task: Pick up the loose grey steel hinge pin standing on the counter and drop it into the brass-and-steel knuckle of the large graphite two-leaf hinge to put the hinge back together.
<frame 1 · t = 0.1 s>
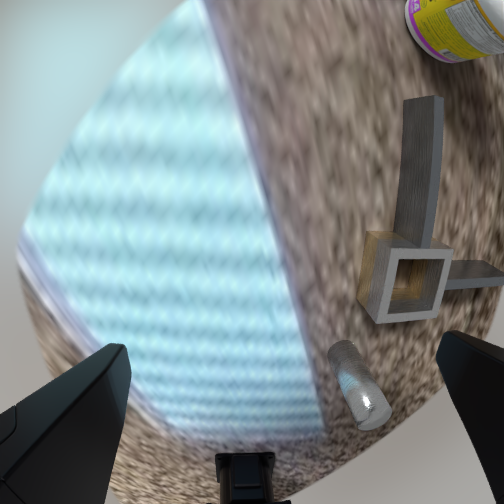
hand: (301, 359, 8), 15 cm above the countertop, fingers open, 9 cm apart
hinge: (391, 265, 23), on the countertop
hinge pin: (341, 352, 26), on the countertop
supplement bottle: (433, 28, 17), on the countertop
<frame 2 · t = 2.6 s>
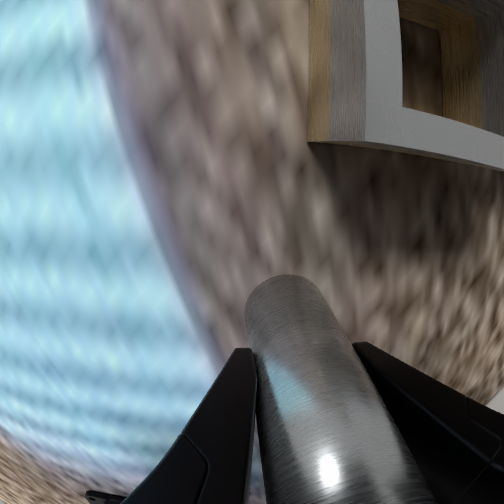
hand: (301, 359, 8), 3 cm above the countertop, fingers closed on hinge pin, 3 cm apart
hinge: (392, 68, 8), on the countertop
hinge pin: (285, 311, 10), on the countertop, touching gripper
when the fingers open (5 cm above the countertop, at t = 5.8 s): hinge pin drops 3 cm, resting in hinge.
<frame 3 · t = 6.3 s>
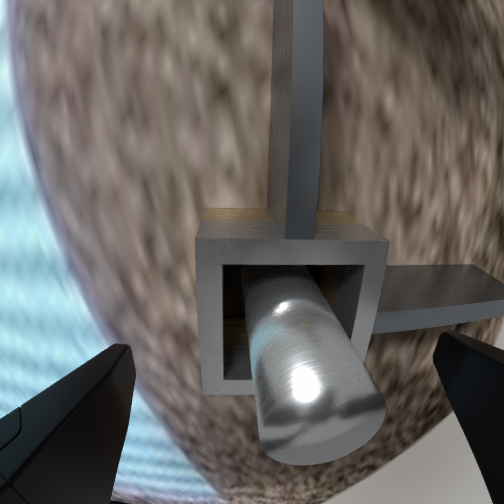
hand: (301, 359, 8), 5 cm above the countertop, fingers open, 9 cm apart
hinge: (273, 275, 13), on the countertop
hinge pin: (273, 275, 13), resting in hinge
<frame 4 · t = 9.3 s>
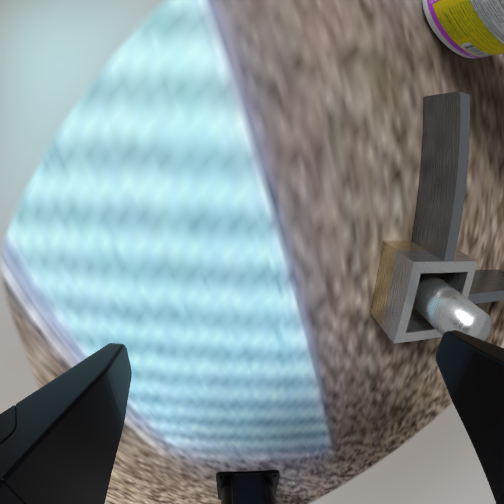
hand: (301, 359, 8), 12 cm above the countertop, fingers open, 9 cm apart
hinge: (408, 277, 21), on the countertop
hinge pin: (408, 277, 21), resting in hinge
supplement bottle: (452, 21, 15), on the countertop
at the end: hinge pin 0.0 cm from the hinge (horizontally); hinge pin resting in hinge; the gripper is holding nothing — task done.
